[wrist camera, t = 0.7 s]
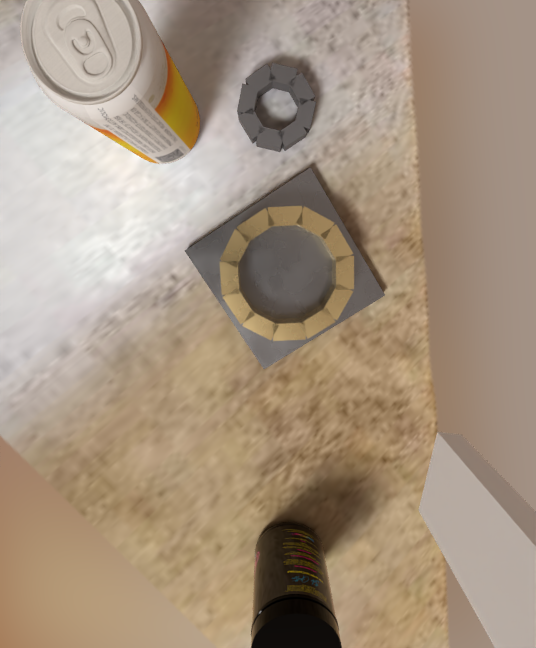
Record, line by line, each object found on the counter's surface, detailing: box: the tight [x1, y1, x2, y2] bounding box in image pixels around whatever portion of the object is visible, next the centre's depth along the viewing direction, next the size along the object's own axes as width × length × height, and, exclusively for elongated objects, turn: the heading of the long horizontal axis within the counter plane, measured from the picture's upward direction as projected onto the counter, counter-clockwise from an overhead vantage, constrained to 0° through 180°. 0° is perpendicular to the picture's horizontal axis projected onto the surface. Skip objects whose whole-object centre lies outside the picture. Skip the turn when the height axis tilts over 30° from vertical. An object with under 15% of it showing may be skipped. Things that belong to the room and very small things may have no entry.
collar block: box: [185, 167, 385, 369], centre depth 34 cm, size 12×12×3 cm
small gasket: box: [237, 63, 316, 152], centre depth 32 cm, size 6×6×2 cm
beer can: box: [20, 0, 200, 164], centre depth 26 cm, size 6×6×15 cm
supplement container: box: [251, 522, 342, 648], centre depth 36 cm, size 7×7×10 cm
